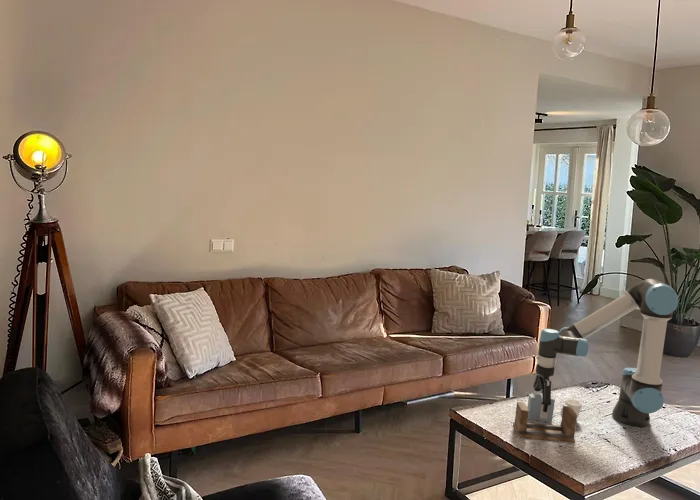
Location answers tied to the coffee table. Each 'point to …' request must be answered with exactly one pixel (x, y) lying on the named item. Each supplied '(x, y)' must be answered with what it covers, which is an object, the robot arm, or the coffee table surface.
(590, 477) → the coffee table surface
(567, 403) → the cup
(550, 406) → the gray rectangular block
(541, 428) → the wooden u-shaped holder
